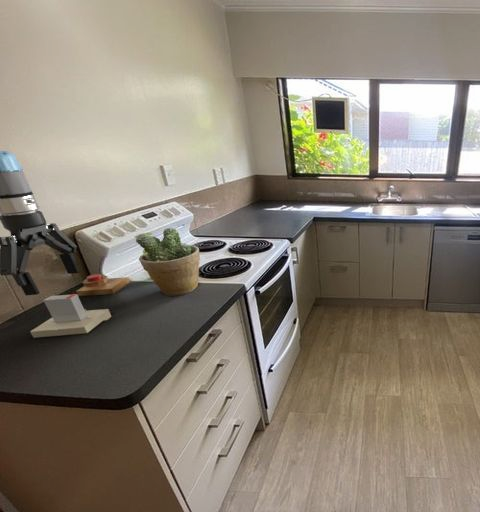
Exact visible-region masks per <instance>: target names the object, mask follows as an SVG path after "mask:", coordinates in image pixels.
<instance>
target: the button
mask: <svg viewBox="0 0 480 512" xmlns="http://www.w3.org/2000/svg"><path fill="white" fill-rule="evenodd" d="M101 275H102V274H101V273H95V274H91V275H88V276H86V279H87V280H88V282H93V281H98V280H100V279H102V277H101Z"/></svg>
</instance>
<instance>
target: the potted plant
mask: <svg viewBox="0 0 480 512" xmlns="http://www.w3.org/2000/svg"><path fill="white" fill-rule="evenodd" d="M162 233H163V235H162V236H163V238H162V239H160V238H158V237H156V236H153V235H150V236H149V235H148V234H143V233H139V234H140V235H139V234H138V235H139V236H138V237H137V238H135V243H137V244H138V245H139V246H140V247H141V248H142V249H143V250H145V252H147V253H145V254H143V253H142V254H141V255H140V256H139V258H138V261H139V262H140V264H141V266H142V268H143V270H144V271H146V272H147V274H148V276H149V278H150V279H151V280H152V281H153V282H154V284H155V285H156V286H157V287H158V288H159V290H160V291H161V292H162V293H163V295H165V296H166V297H167V296H168V297H176V296H177V297H178V296H182V295H185V294H189V293H191V292H193V291H194V290H195V289H197V288H198V285H199V273H200V270H199V269H200V260H201V257H200V248H199V247H198V246H196V245H193V244H187V243H186V242H185V243H182V241H181V240H182V239H181V237H180V234H179V231H178V230H177V228H174V227H167V228H164V230H163V232H162Z"/></svg>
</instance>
